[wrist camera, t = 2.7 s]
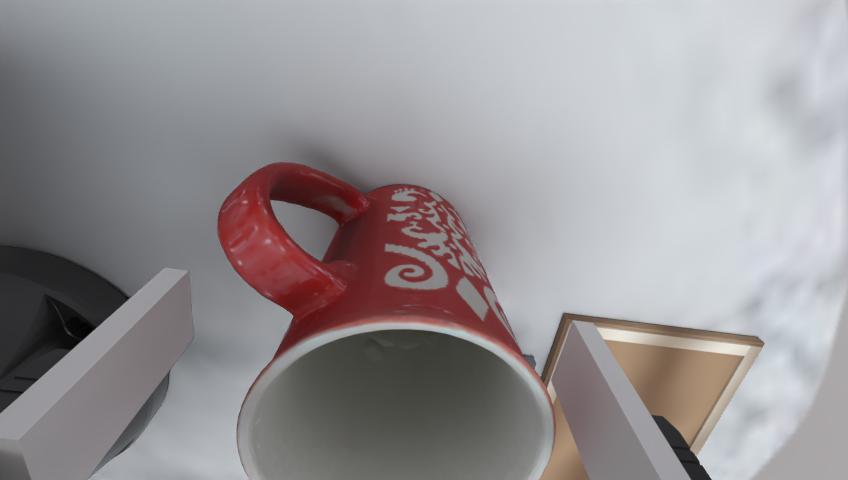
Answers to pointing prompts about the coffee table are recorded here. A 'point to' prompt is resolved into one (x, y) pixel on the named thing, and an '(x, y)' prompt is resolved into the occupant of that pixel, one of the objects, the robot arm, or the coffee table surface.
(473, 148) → the coffee table surface
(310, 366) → the mug
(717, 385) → the board
